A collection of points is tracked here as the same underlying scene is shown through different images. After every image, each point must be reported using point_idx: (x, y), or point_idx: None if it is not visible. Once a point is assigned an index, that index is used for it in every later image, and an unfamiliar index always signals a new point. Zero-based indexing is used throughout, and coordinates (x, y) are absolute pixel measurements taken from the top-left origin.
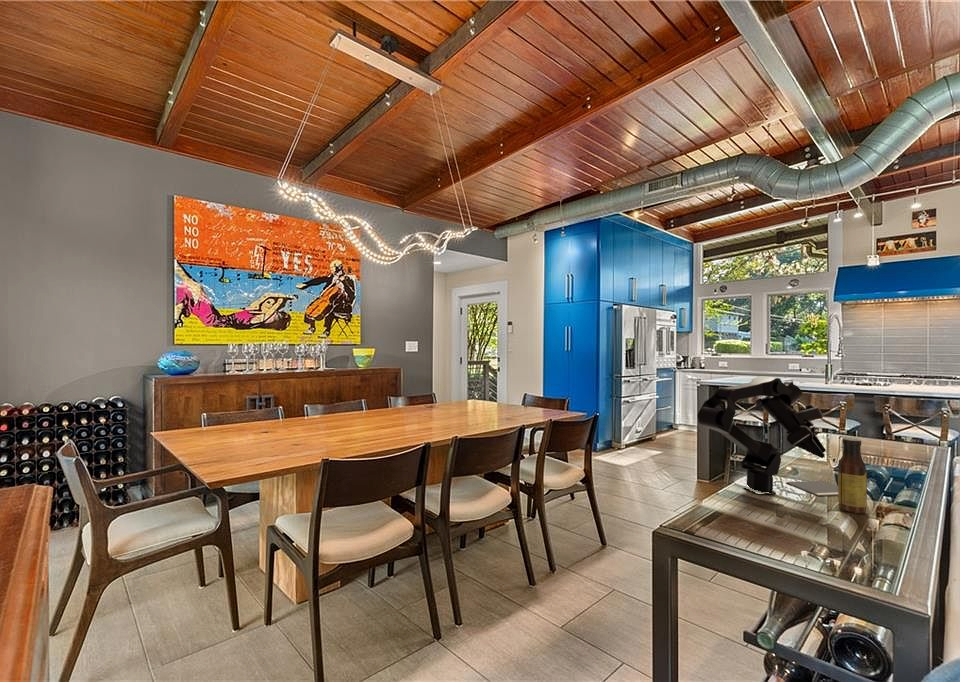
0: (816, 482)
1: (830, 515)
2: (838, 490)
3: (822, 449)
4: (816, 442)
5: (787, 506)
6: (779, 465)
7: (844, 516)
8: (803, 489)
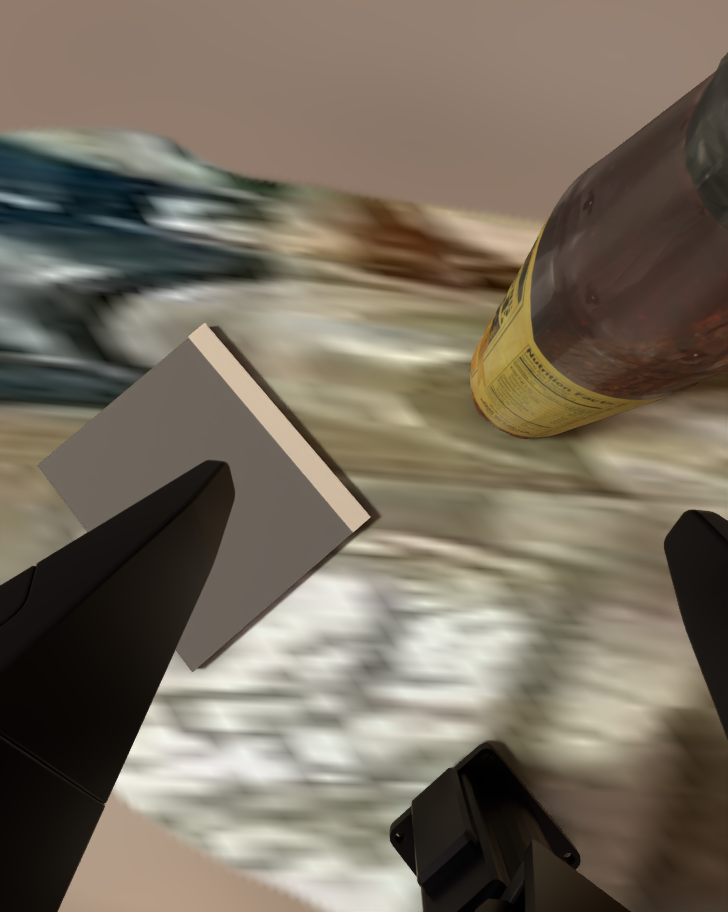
0: (100, 505)
1: (690, 489)
2: (573, 426)
3: (215, 502)
4: (133, 605)
5: (684, 687)
6: (543, 898)
7: (658, 428)
8: (292, 584)
